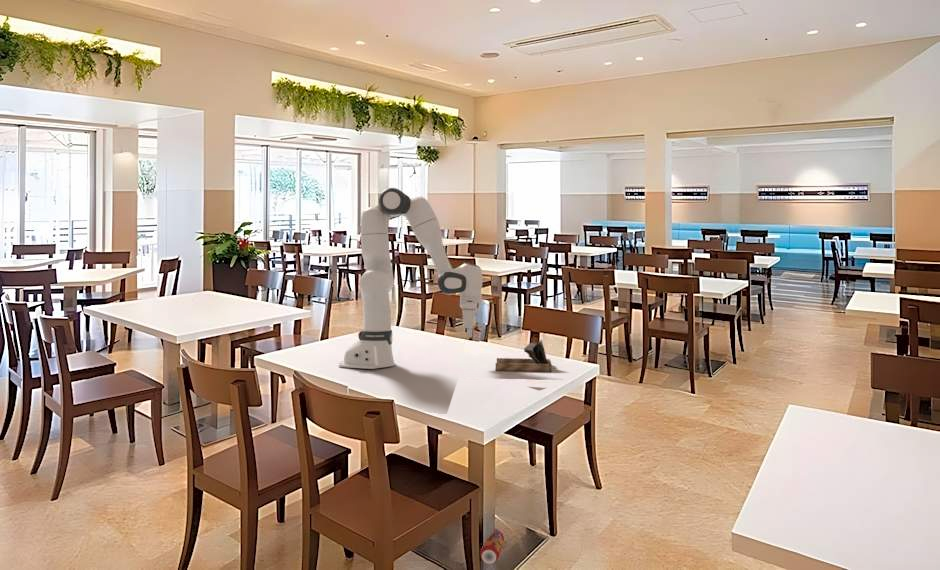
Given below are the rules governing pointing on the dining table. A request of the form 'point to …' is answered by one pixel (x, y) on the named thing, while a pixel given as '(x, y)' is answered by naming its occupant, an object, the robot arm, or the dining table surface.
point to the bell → (536, 352)
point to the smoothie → (492, 547)
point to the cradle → (522, 365)
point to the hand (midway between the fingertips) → (469, 337)
